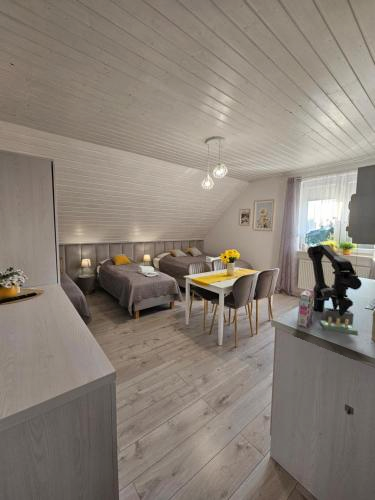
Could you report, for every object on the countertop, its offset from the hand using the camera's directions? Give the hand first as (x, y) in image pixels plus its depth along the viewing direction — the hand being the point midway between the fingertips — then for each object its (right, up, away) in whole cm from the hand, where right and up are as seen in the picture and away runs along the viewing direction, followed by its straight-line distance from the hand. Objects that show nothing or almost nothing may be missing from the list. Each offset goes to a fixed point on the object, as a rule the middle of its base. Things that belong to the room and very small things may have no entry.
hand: (337, 312), depth 118 cm
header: (-5, -6, -7) cm, 11 cm away
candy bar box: (-19, -5, -2) cm, 20 cm away
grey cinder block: (0, -5, 0) cm, 5 cm away
